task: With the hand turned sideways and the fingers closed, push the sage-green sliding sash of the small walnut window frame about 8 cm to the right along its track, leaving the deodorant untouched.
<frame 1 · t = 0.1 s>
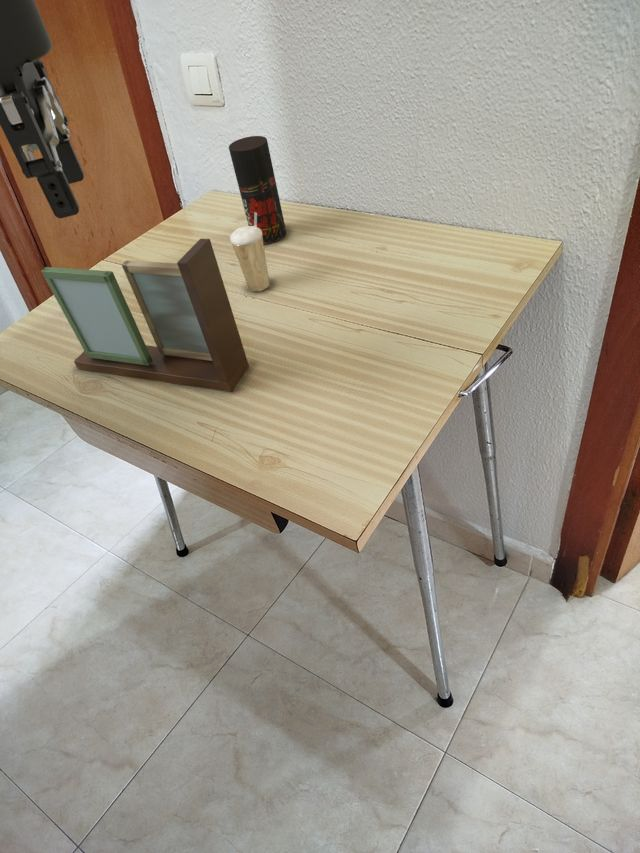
hand: (72, 197, 57), 25 cm above the table, tool pointing down, fingers open, 8 cm apart
deodorant: (269, 236, 99), on the table
milkshake: (261, 285, 88), on the table
sash: (99, 317, 72), point 8 cm above the table, slide at 0.0 cm
window frame: (160, 367, 77), on the table
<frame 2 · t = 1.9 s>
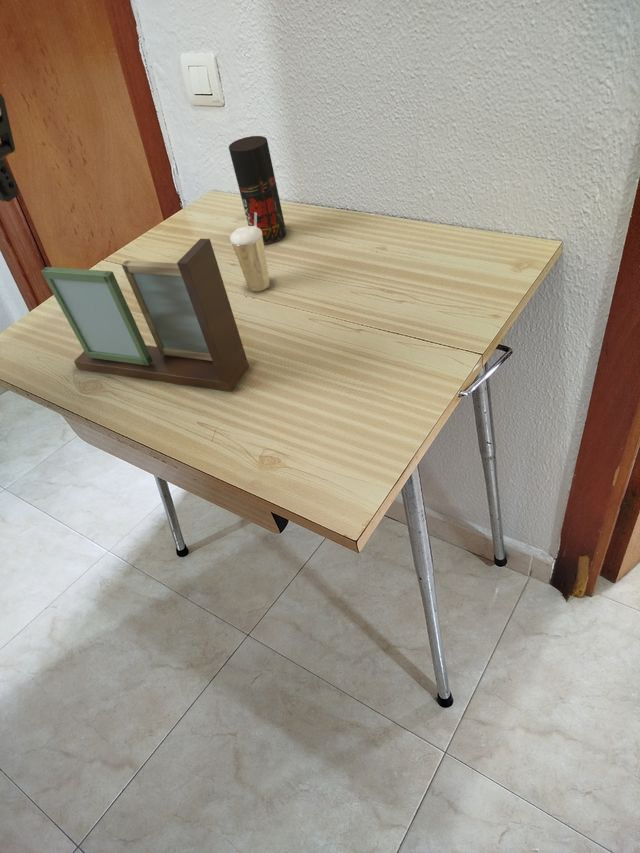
nothing on the table moved.
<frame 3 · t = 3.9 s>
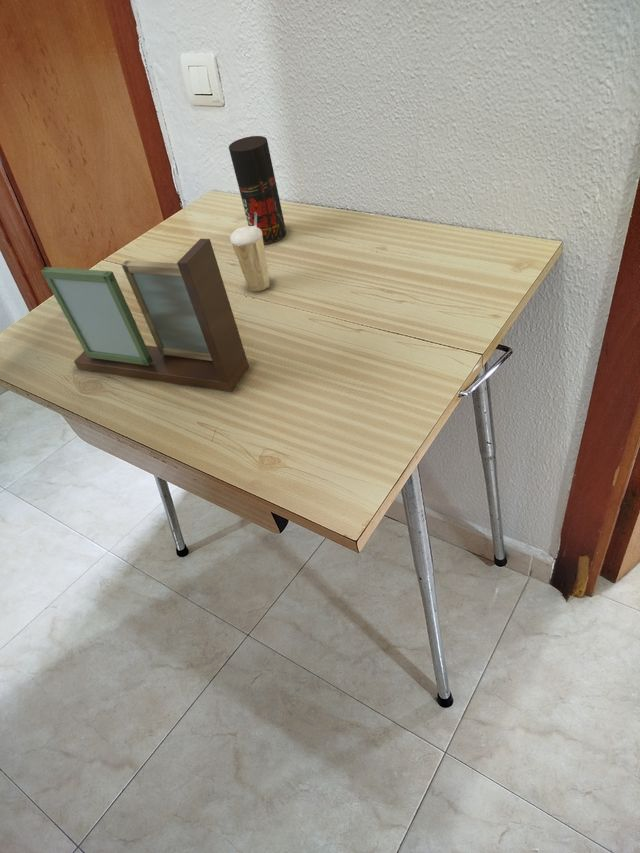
nothing on the table moved.
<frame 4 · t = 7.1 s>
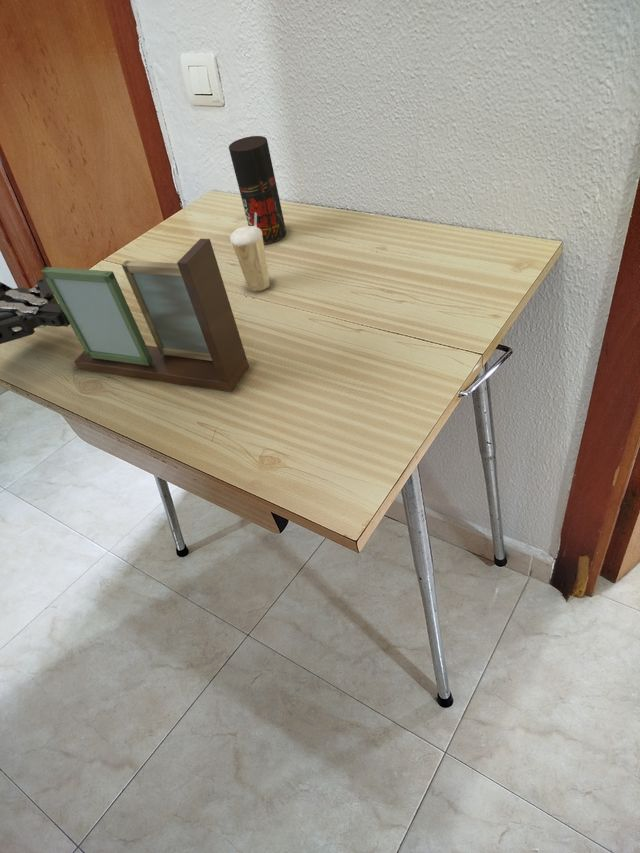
hand: (68, 316, 74), 8 cm above the table, tool horizontal, fingers closed
sash: (99, 317, 72), point 8 cm above the table, slide at 0.1 cm, touching gripper
everything else where it was.
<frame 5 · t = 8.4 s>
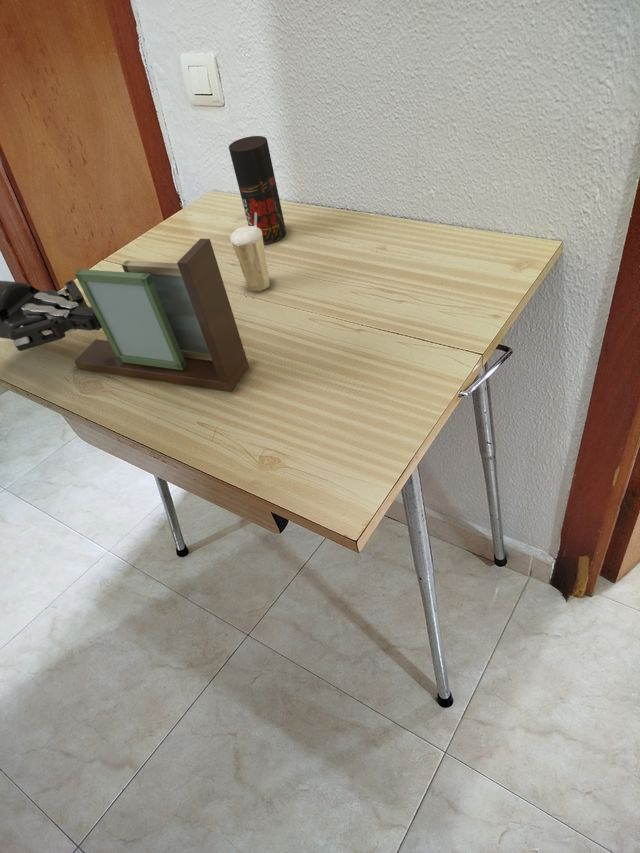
hand: (100, 319, 73), 8 cm above the table, tool horizontal, fingers closed
sash: (133, 321, 71), point 8 cm above the table, slide at 5.2 cm, touching gripper
everything else where it was.
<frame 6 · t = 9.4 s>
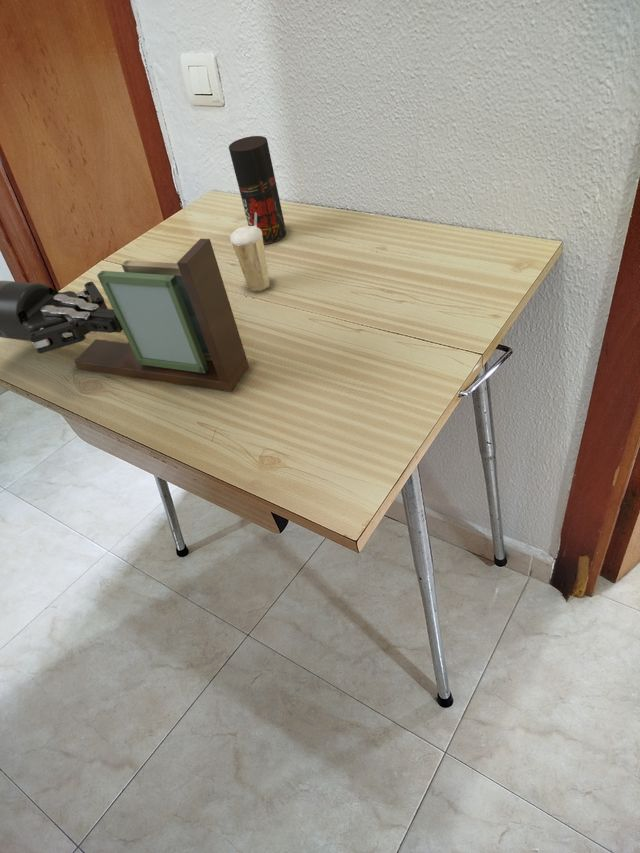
hand: (121, 321, 71), 8 cm above the table, tool horizontal, fingers closed
sash: (155, 323, 69), point 8 cm above the table, slide at 8.4 cm, touching gripper
everything else where it was.
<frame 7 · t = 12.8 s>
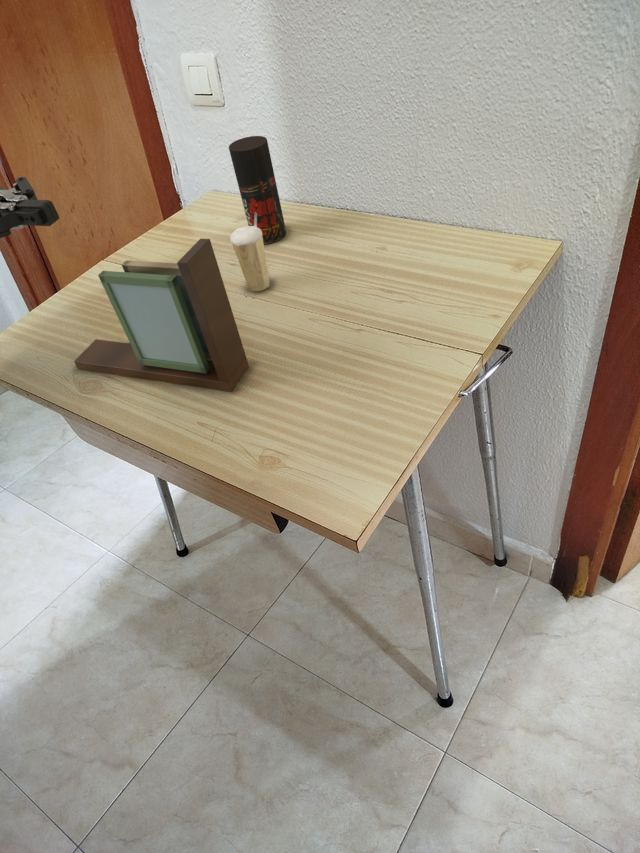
hand: (51, 213, 62), 22 cm above the table, tool horizontal, fingers closed
sash: (156, 323, 69), point 8 cm above the table, slide at 8.6 cm
everything else where it was.
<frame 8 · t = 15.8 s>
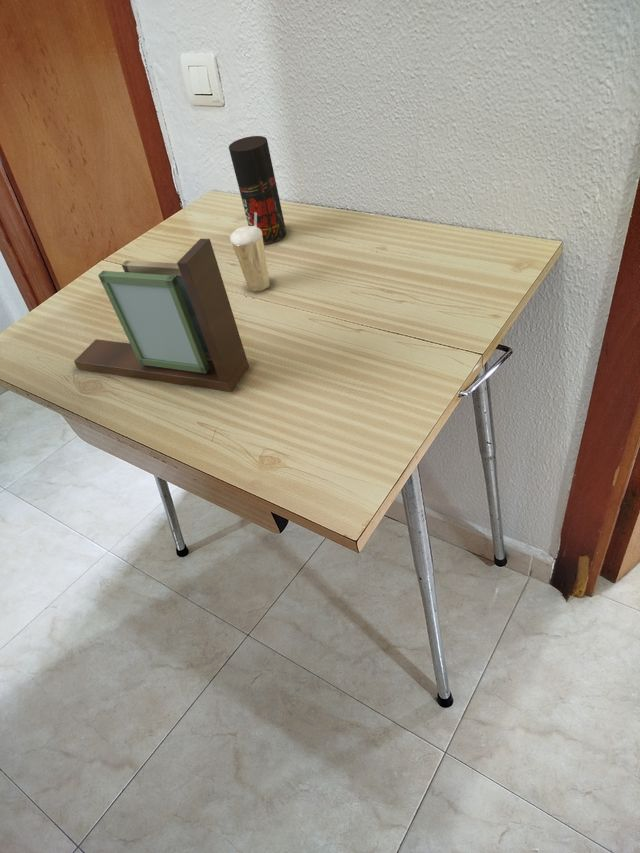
nothing on the table moved.
at the end: sash slide at 8.6 cm; deodorant moved 0.2 cm from its start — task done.
